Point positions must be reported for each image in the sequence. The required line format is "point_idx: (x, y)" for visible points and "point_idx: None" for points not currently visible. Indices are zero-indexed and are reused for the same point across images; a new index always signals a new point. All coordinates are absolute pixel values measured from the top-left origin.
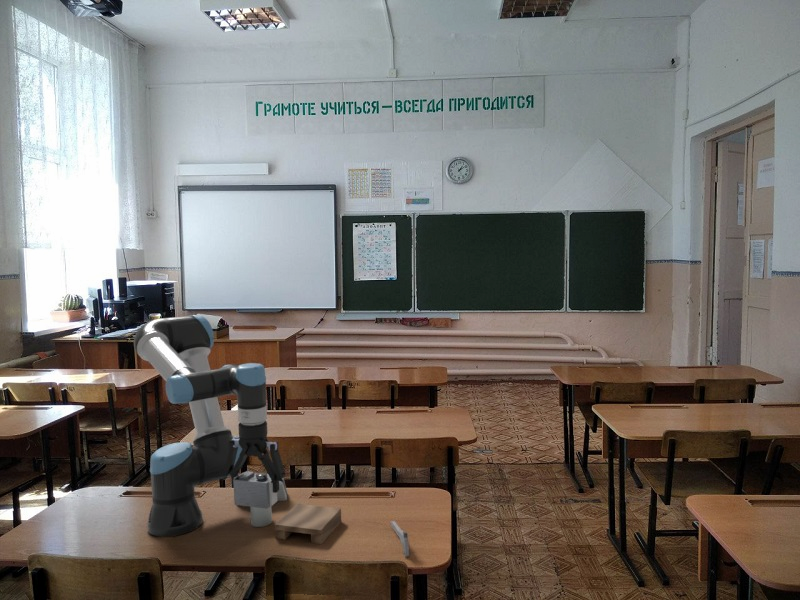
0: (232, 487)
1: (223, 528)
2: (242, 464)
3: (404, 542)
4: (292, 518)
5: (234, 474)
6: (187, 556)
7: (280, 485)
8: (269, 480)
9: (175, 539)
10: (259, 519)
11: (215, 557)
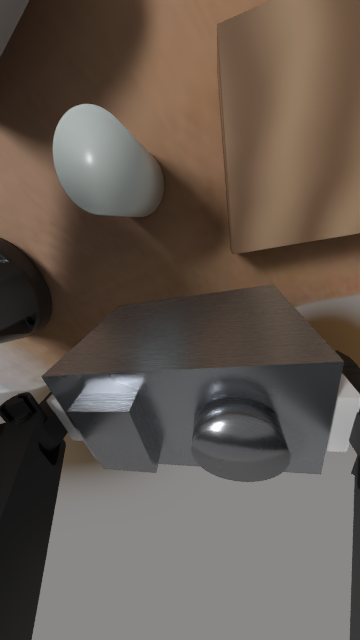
0: None
1: (87, 260)
2: (16, 505)
3: None
4: (269, 188)
5: (62, 459)
6: None
7: None
8: (321, 443)
9: (59, 328)
10: (145, 211)
11: None
